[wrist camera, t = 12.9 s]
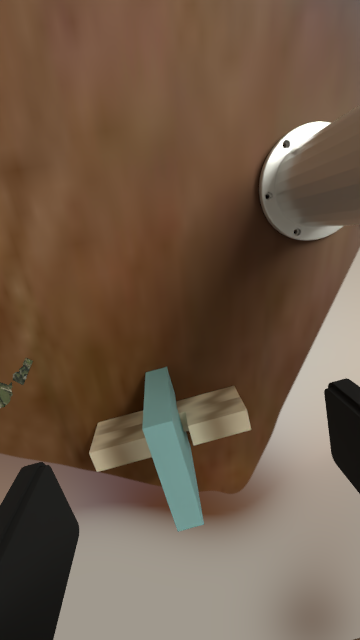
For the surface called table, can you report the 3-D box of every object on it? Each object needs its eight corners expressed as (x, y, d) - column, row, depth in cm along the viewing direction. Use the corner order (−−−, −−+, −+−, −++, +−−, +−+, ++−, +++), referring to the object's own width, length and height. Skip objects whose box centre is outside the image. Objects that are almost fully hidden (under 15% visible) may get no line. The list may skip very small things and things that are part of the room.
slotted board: (234, 385, 41) (246, 409, 35) (237, 403, 42) (251, 429, 36) (98, 422, 41) (88, 453, 35) (104, 439, 42) (97, 472, 36)
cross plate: (145, 372, 39) (142, 428, 28) (166, 366, 39) (172, 420, 28) (171, 453, 44) (177, 531, 32) (190, 448, 44) (204, 524, 32)
